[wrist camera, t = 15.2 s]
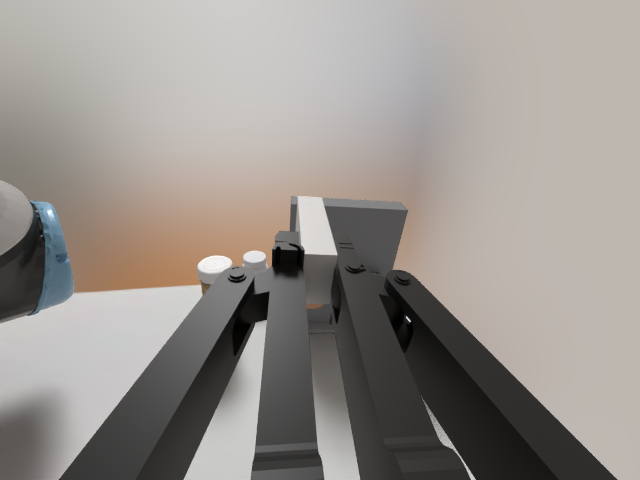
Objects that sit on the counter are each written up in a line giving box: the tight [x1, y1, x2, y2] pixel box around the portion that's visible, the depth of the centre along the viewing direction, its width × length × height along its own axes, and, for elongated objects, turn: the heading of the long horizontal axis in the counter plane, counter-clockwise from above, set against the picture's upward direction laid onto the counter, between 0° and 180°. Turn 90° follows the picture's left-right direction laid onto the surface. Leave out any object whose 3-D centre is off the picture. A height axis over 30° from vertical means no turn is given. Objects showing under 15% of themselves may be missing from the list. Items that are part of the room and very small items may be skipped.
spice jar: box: [197, 256, 233, 295], centre depth 40 cm, size 5×5×13 cm
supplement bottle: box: [243, 251, 268, 273], centre depth 51 cm, size 5×5×8 cm
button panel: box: [290, 196, 408, 333], centre depth 43 cm, size 17×7×22 cm, turn 95°
